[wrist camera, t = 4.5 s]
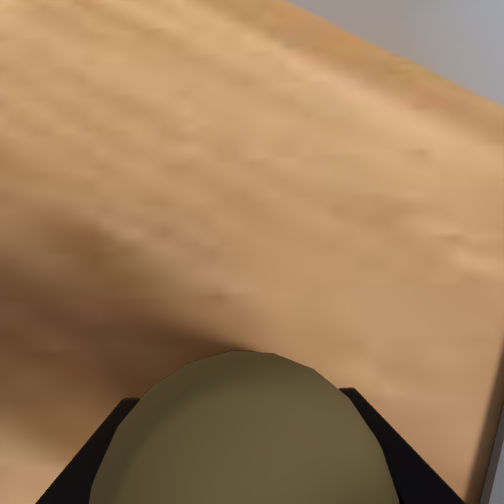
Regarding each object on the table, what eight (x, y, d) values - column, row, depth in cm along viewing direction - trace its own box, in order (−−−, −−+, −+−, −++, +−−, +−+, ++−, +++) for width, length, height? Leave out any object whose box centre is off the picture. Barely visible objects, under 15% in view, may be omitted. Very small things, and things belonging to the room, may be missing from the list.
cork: (168, 520, 14) (-19, 948, 4) (163, 357, 16) (24, 339, 6) (322, 498, 15) (540, 828, 4) (300, 342, 16) (414, 300, 6)
